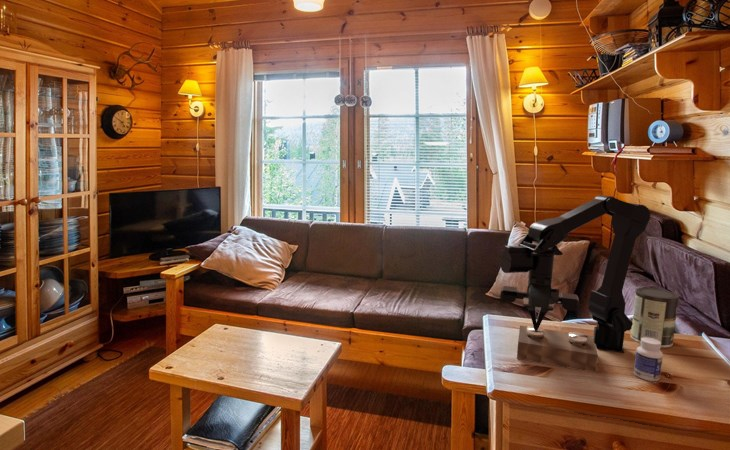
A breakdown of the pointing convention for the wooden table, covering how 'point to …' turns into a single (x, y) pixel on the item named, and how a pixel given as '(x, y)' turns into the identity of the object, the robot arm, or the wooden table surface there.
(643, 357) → the pill bottle
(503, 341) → the wooden table surface
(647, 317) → the coffee can
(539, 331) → the far plunger
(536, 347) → the block
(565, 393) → the wooden table surface
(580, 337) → the near plunger
